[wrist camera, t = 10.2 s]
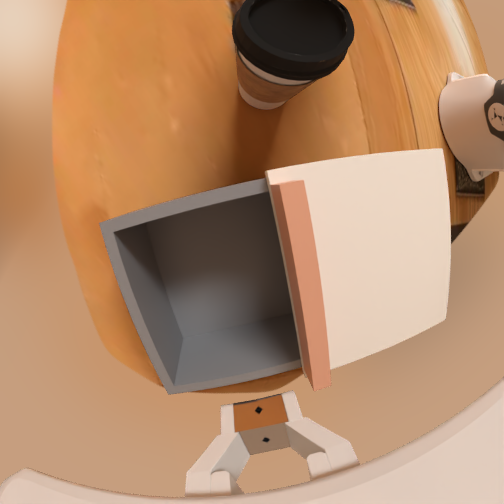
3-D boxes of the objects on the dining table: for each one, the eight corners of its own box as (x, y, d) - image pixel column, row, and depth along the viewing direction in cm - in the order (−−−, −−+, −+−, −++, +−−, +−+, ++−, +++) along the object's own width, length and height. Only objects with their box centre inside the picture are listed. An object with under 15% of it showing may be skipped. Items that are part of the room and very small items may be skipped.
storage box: (276, 175, 29) (303, 170, 19) (302, 313, 33) (330, 357, 24) (136, 210, 28) (99, 223, 18) (179, 342, 32) (168, 394, 23)
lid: (435, 148, 20) (464, 147, 16) (440, 315, 24) (462, 331, 21) (264, 171, 19) (275, 167, 15) (302, 371, 24) (314, 399, 20)
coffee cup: (313, 104, 27) (381, 53, 13) (248, 132, 28) (276, 84, 13) (278, 48, 25) (317, -28, 11) (213, 73, 25) (211, -7, 11)
